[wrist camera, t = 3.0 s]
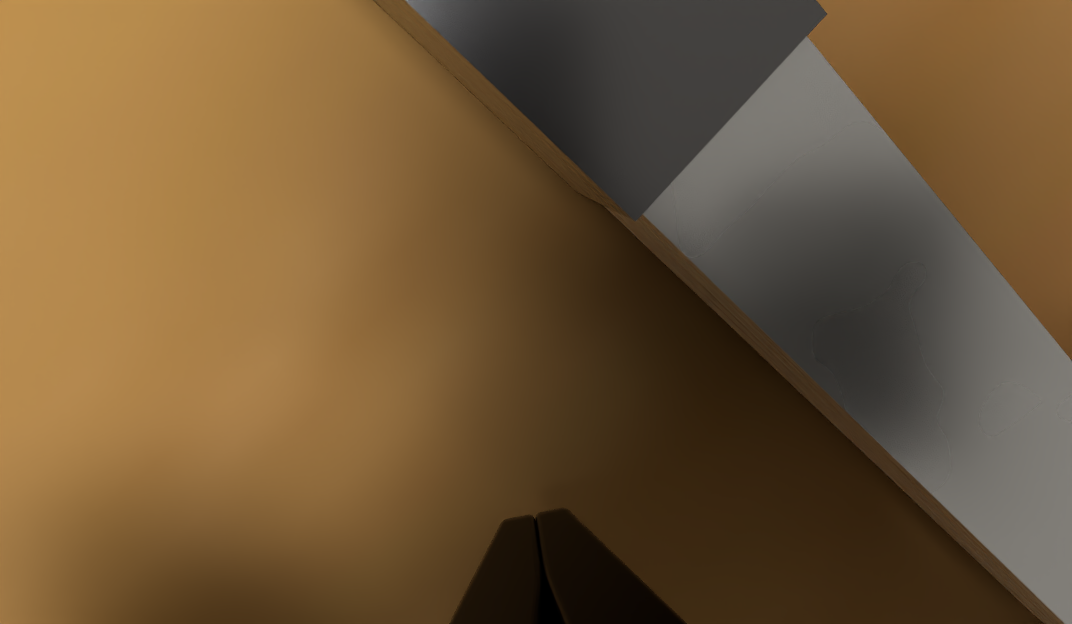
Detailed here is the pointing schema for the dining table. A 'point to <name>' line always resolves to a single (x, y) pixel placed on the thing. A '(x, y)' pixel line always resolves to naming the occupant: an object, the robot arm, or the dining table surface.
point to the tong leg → (797, 242)
